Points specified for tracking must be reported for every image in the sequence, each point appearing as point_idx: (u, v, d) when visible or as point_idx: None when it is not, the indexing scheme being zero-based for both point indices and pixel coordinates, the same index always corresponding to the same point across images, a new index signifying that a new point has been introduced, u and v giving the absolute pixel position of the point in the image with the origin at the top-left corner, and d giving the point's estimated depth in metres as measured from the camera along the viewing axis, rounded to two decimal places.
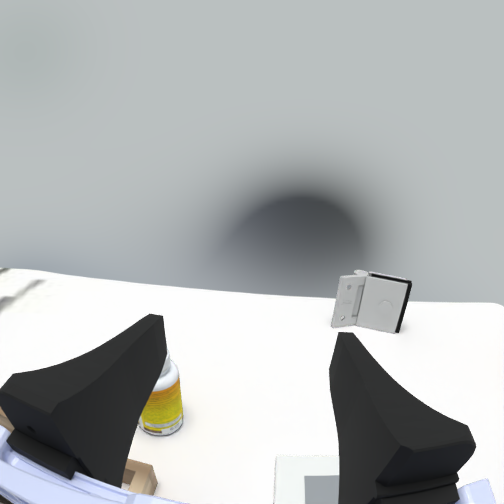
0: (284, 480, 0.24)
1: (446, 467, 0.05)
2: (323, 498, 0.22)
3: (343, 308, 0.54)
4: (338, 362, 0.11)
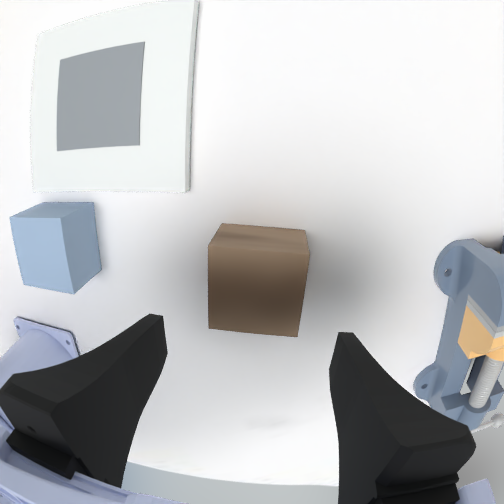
0: (40, 73, 0.15)
1: (446, 467, 0.05)
2: (78, 95, 0.16)
3: None
4: (338, 362, 0.11)
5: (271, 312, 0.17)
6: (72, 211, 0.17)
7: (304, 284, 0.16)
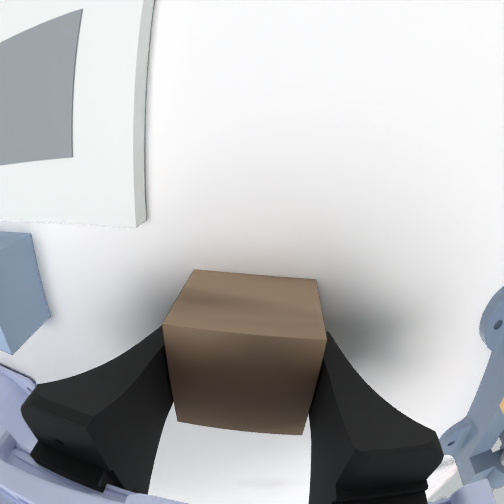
0: None
1: (412, 474, 0.05)
2: (4, 92, 0.10)
3: None
4: None
5: (265, 409, 0.10)
6: None
7: (315, 378, 0.10)
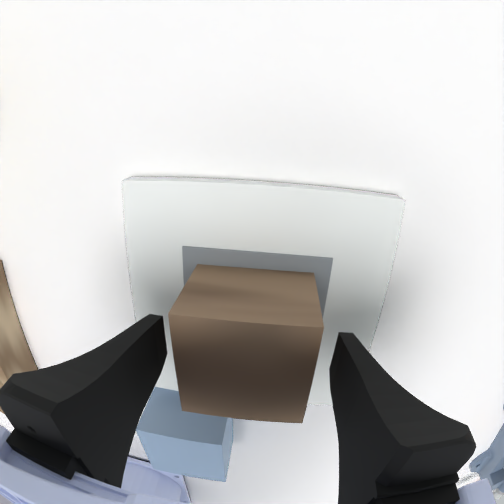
0: (142, 253, 0.14)
1: (446, 467, 0.05)
2: None
3: None
4: (338, 362, 0.11)
5: (266, 397, 0.11)
6: (222, 424, 0.16)
7: (314, 365, 0.10)
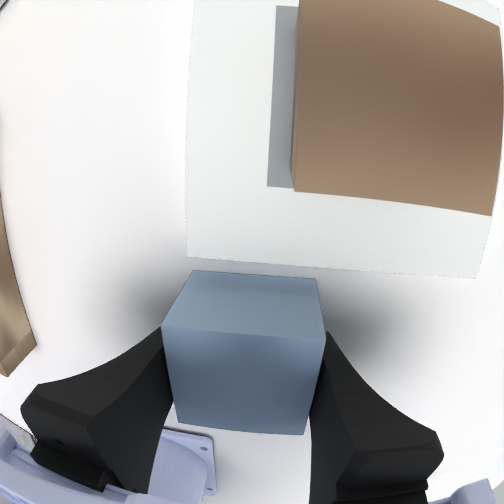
0: (216, 19, 0.08)
1: (412, 474, 0.05)
2: None
3: None
4: None
5: (451, 141, 0.06)
6: (316, 311, 0.10)
7: (502, 83, 0.05)
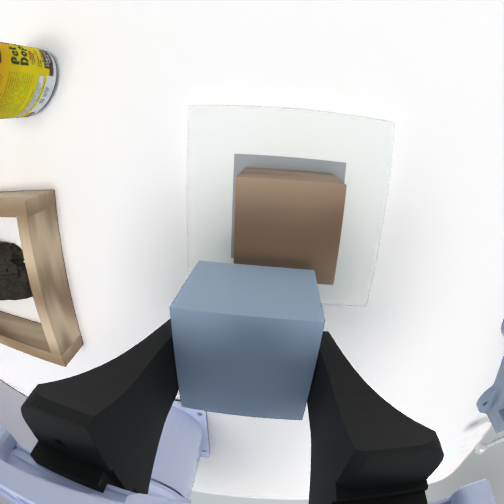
0: (200, 161, 0.18)
1: (412, 474, 0.05)
2: None
3: None
4: None
5: (305, 254, 0.15)
6: (315, 298, 0.11)
7: (341, 220, 0.14)
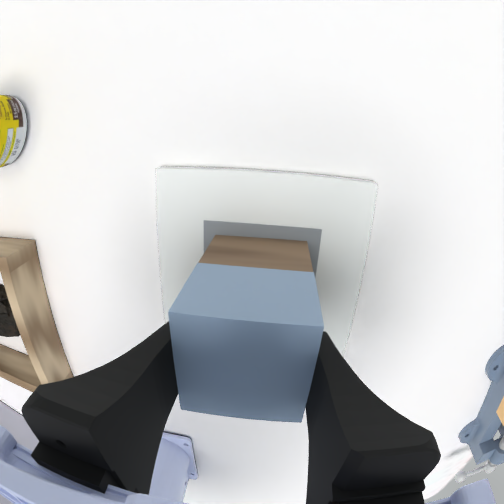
0: (170, 227, 0.18)
1: (408, 474, 0.05)
2: None
3: None
4: None
5: None
6: (314, 301, 0.11)
7: None
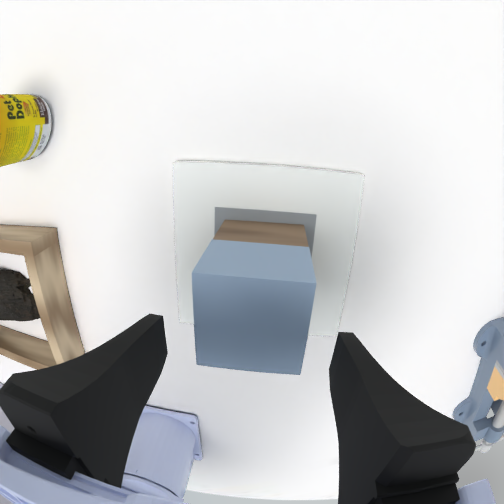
0: (185, 213, 0.20)
1: (446, 467, 0.05)
2: None
3: None
4: (338, 362, 0.11)
5: None
6: (309, 267, 0.14)
7: None
